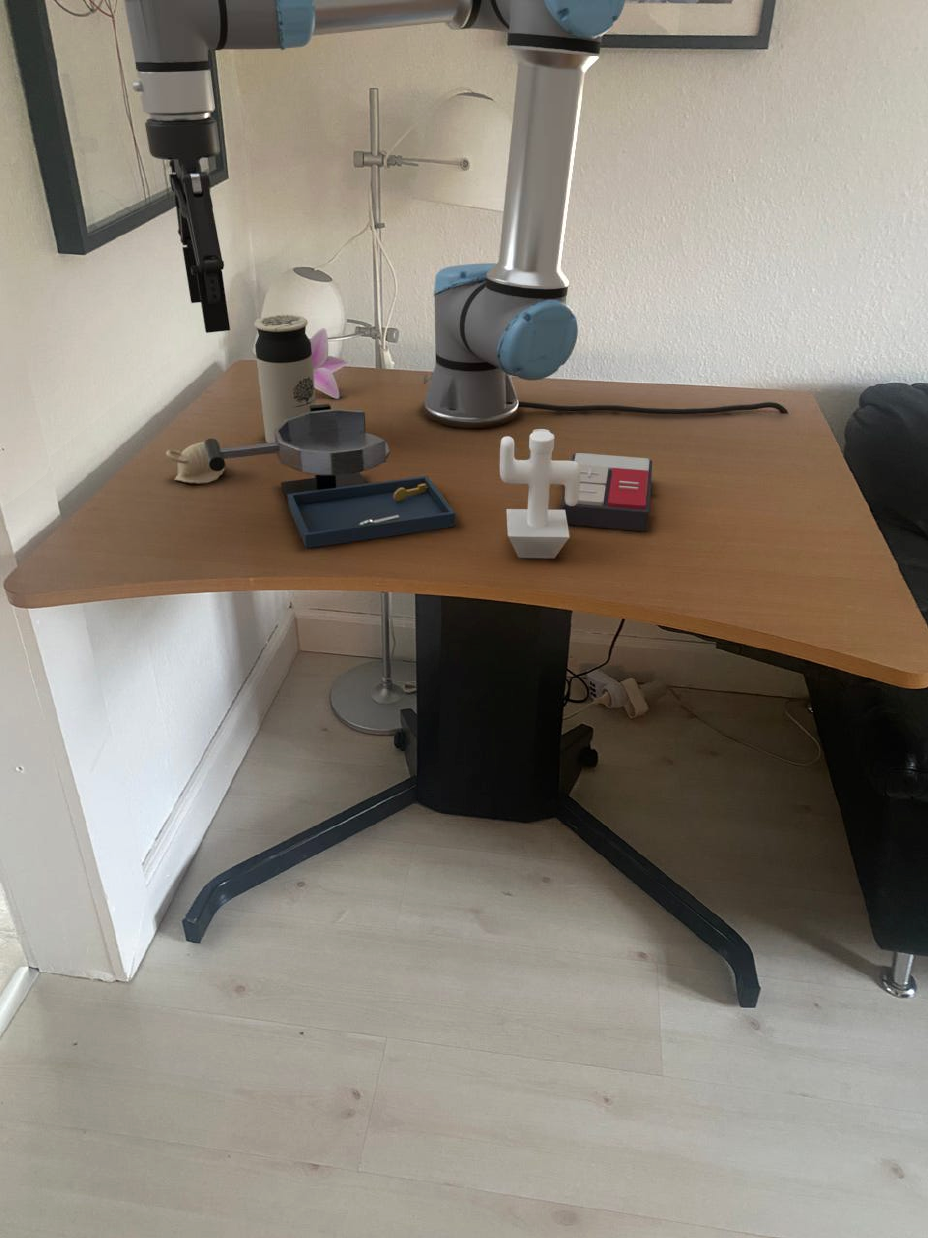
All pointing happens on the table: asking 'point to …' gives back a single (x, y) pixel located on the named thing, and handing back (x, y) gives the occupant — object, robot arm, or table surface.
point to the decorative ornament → (194, 465)
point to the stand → (321, 480)
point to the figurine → (538, 496)
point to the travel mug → (284, 369)
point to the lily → (324, 365)
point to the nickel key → (380, 520)
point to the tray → (367, 512)
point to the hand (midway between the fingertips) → (209, 315)
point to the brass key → (409, 492)
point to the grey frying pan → (314, 444)
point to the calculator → (611, 492)
